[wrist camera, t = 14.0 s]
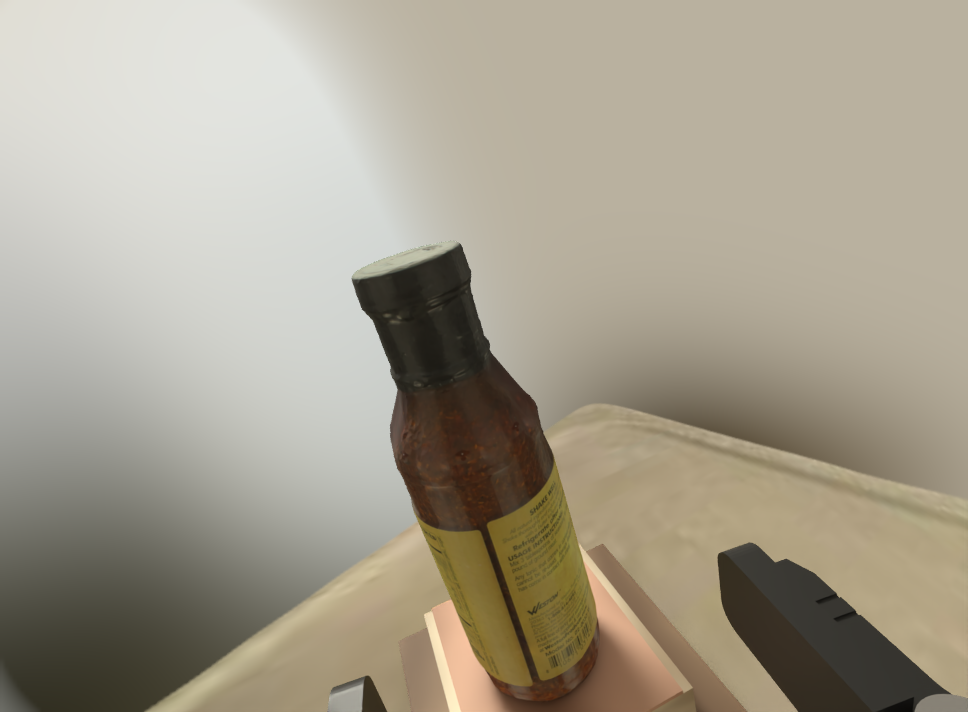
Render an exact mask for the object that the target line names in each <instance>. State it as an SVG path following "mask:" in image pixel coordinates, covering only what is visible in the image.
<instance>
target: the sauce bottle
mask: <svg viewBox="0 0 968 712" xmlns="http://www.w3.org/2000/svg"><path fill="white" fill-rule="evenodd" d="M352 282H353V285H354V288H355V291H356V295H357V297H358V300H359V302H360V305H361V308H362V310H363V311H365V313H366V314H367V315H368V316H369V317H370V318H371V319H372V320H373V322H374V325H375V327H376V330H377V332H378V335H379V338H380V340H381V343H382V346H383V348H384V351H385V354H386V356H387V358H388V361H389V363H390V366H391V369H390V372H391V375H392V378H393V379H394V381H395V383H396V386H397V389H398V391H397V396H396V402H395V406H394V410H393V415H392V421H391V424H390V432H391V433H390V438H391V443H392V448H393V452H394V458H395V462H396V465H397V469H398V470H399V471H400V473H401V475H402V477H403V479H404V482H405V485H406V486H407V489H408V492H409V494H410V496H411V500H412V507H413V510H414V513H415V515H416V517H417V520H418V522H419V524H420V527H421V529H422V531H423V534H424V536H425V538H426V541H427V543H428V545H429V548H430V550H431V552H432V555H433V557H434V560H435V562H436V564H437V567H438V569H439V571H440V574H441V576H442V579H443V581H444V583H445V586H446V588H447V590H448V592H449V595H450V597H451V600H452V602H453V605H454V607H455V610H456V612H457V614H458V617H459V619H460V622H461V624H462V626H463V629H464V631H465V634H466V636H467V638H468V641H469V643H470V646H471V648H472V651H473V653H474V655H475V657H476V658H477V660H478V662H479V663H480V664H481V666H482V667H483V668H484V669H485V671H486V672H487V674H488V675H489V677H490V679H491V680H492V682H493V684H494V685H495V686H496V687H497V688H498V689H499V690H500V691H501V692H503V693H504V694H507V695H510V696H512V697H514V698H516V699H523V700H528V701H541V702H545V701H548V702H549V701H553V700H555V699H557V698H561V697H562V696H565V695H567V694H568V693H569V692H570V691H573V690H574V689H575V688H576V686H577V685H578V684H580V683H581V682H583V681H584V680H585V679H586V678H587V676H588V675H589V673H590V672H591V671H592V669H593V667H594V665H595V663H596V659H597V656H598V648H599V641H600V632H599V623H598V618H597V611H596V604H595V600H594V596H593V593H592V589H591V586H590V582H589V579H588V575H587V572H586V568H585V565H584V561H583V558H582V554H581V551H580V548H579V544H578V541H577V537H576V534H575V530H574V527H573V523H572V519H571V516H570V512H569V509H568V505H567V502H566V498H565V494H564V491H563V487H562V484H561V480H560V477H559V473H558V470H557V466H556V463H555V459H554V456H553V453H552V450H551V448H550V446H549V444H548V442H547V440H546V438H545V436H544V434H543V430H542V428H541V424H540V420H539V415H538V410H537V406H536V403H535V401H534V400H533V399H532V398H531V397H530V395H528V394H527V393H526V392H525V391H524V390H523V389H522V388H521V387H520V386H519V385H518V384H517V382H516V381H515V380H514V379H513V378H512V377H511V376H510V374H509V373H508V372H507V371H506V370H505V368H504V367H503V366H502V365H501V364H500V363H499V362H498V360H497V359H496V358H495V357H494V356H493V354H492V353H491V351H490V343H489V341H488V340H487V338H486V337H485V336H484V334H483V329H482V326H481V322H480V320H479V318H478V314H477V310H476V307H475V303H474V300H473V295H472V293H471V287H470V282H471V270H470V268H469V266H468V263H467V260H466V257H465V254H464V252H463V248H462V246H461V244H460V243H458V242H455V241H448V242H441V243H436V244H433V245H426V246H421V247H418V248H415V249H411V250H408V251H405V252H402V253H399V254H396V255H393V256H390V257H387V258H384V259H382V260H379V261H376V262H374V263H372V264H370V265H367V266H365V267H363V268H361V269H360V270H358V271H356V272H355V273H354V274H353V276H352Z"/></svg>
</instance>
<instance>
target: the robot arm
mask: <svg viewBox="0 0 968 712" xmlns="http://www.w3.org/2000/svg"><path fill="white" fill-rule="evenodd" d="M718 569H719V579H720V590H721V600H722V605H723V608H724V611H725V614H726V616H727V618H728V620H729V622H730V624H731V625H732V627H733V628H734V630H735V631H736V633H737V634H738V635H739V637H740V638H741V639H742V640H743V642H744V643H745V644H746V645H747V647H748V648H749V649H750V651H751V652H752V653H753V654H754V656H755V657H756V658H757V660H758V661H759V662H760V663H761V665H762V666H763V667H764V668H765V670H766V671H767V672H768V674H769V675H770V676H771V677H772V679H773V680H774V681H775V682H776V684H777V685H778V686H779V688H780V689H781V690H782V691H783V693H784V694H785V695H786V696H787V698H788V699H789V700H790V702H791V703H792V704H793V705H794V707H795V708H796V709H797V711H798V712H968V698H964V697H961V696H957V695H952V694H951V693H949V692H948V691H946V690H945V689H943V688H942V687H941V686H939V685H938V684H937V683H936V682H935V681H933V680H932V679H931V678H930V677H929V676H928V675H927V674H926V673H925V672H923V671H922V670H921V669H920V668H919V667H918V666H917V665H916V664H915V663H913V662H912V661H911V660H910V659H909V658H908V657H907V656H906V655H905V654H903V653H902V652H901V651H900V650H899V649H898V648H897V647H896V646H895V645H893V644H892V643H891V642H890V641H889V640H888V639H887V638H886V637H885V636H883V635H882V634H881V633H880V632H879V631H878V630H877V629H876V628H875V627H873V626H872V625H871V624H870V623H869V622H868V621H867V620H866V619H865V618H863V617H862V616H861V615H858V614H857V613H856V611H855V609H853V608H852V607H851V606H850V605H849V604H848V603H847V602H846V601H845V600H843V599H842V598H841V597H840V598H839V597H838V596H837V594H836V592H835V591H833V590H832V589H831V588H830V587H829V586H828V585H827V584H826V583H825V582H823V581H822V580H821V579H820V578H819V577H818V576H817V575H816V574H815V573H813V572H811V571H809V570H807V569H805V568H803V567H801V566H799V565H797V564H795V563H794V562H792V561H790V560H788V559H784V560H781V561H778V562H776V563H775V562H774V561H773V560H772V559H771V558H770V557H769V556H768V555H767V554H766V553H765V552H764V551H763V550H762V549H761V548H759V547H758V546H757V545H755V544H754V543H747V544H744V545H741V546H738V547H735V548H732V549H730V550H727V551H724V552H721V553H719V554H718ZM327 712H387V710H386V708H385V706H384V704H383V702H382V700H381V698H380V696H379V694H378V692H377V689H376V687H375V685H374V683H373V681H372V679H371V678H370V676H364V677H362V678H359V679H356V680H353V681H350V682H347V683H344V684H342V685H339V686H336V687H334V688H332V690H331V692H330V696H329V703H328V711H327Z"/></svg>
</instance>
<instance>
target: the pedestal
mask: <svg viewBox="0 0 968 712" xmlns="http://www.w3.org/2000/svg"><path fill="white" fill-rule="evenodd" d="M578 544H579V543H578ZM579 548H580V551H581V554H582V558H583V561H584V565H585V568H586V572H587V575H588V579H589V582H590V586H591V589H592V593H593V596H594V600H595V604H596V611H597V618H598V623H599V632H600V641H599V648H598V656H597V659H596V663H595V665H594V667H593V669H592V671H591V672H590V673H589V675H588V676H587V678H586V679H585V680H584V681H583V682H581V683H580V684H578V685H577V686H576V688H575V689H574V690H573V691H570V692H569V693H568V694H567V695H565V696H562V697H561V698H557V699H555V700H553V701H549V702H548V701H545V702H541V701H528V700H523V699H516V698H514V697H512V696H510V695H507V694H504V693H503V692H501V691H500V690H499V689H498V688H497V687H496V686H495V685H494V684H493V682H492V680H491V679H490V677H489V675H488V674H487V672H486V671H485V669H484V668H483V667H482V666H481V664H480V663H479V662H478V660H477V658H476V657H475V655H474V653H473V651H472V648H471V646H470V643H469V641H468V638H467V636H466V634H465V631H464V629H463V626H462V624H461V622H460V619H459V617H458V614H457V612H456V610H455V607H454V605H453V602H452V600H451V599H450V600H448V601H446V602H444V603H442V604H439V605H437V606H435V607H433V608H431V609H432V611H431V612H429V613H427V614H425V615H424V617H425V621H426V624H427V628H425V629H423V630H421V631H419V632H417V633H414V634H412V635H410V636H408V637H406V638H404V639H402V640H400V641H398V643H399V648H400V653H401V658H402V664H403V669H404V674H405V680H406V685H407V690H408V696H409V701H410V706H411V712H747V711H746V710H745V709H744V707H743V706H742V705H741V704H740V703H739V702H738V700H737V699H736V698H735V697H734V696H733V695H732V694H731V692H730V691H729V690H728V689H727V688H726V687H725V685H724V684H723V683H722V682H721V681H720V680H719V678H718V677H717V676H716V675H715V674H714V673H713V671H712V670H711V669H710V668H709V667H708V666H707V664H706V663H705V662H704V661H703V660H702V659H701V657H700V656H699V655H698V654H697V653H696V652H695V650H694V649H693V648H692V647H691V646H690V645H689V644H688V642H687V641H686V640H685V639H684V638H683V637H682V635H681V634H680V633H679V632H678V631H677V630H676V628H675V627H674V626H673V625H672V624H671V623H670V621H669V620H668V619H667V618H666V617H665V616H664V614H663V613H662V612H661V611H660V610H659V609H658V607H657V606H656V605H655V604H654V603H653V602H652V600H651V599H650V598H649V597H648V596H647V595H646V594H645V592H644V591H643V590H642V589H641V588H640V587H639V585H638V584H637V583H636V582H635V581H634V580H633V578H632V577H631V576H630V575H629V574H628V573H627V571H626V570H625V569H624V568H623V567H622V566H621V564H620V563H619V562H618V561H617V560H616V559H615V557H614V556H613V555H612V554H611V553H610V552H609V550H608V549H607V548H606V547H605V546H604V545H603V544H601V545H599V546H597V547H595V548H593V549H591V550H588V551H586V552H585V550H584V549H583V548H582V546H581V545H580V544H579Z"/></svg>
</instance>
